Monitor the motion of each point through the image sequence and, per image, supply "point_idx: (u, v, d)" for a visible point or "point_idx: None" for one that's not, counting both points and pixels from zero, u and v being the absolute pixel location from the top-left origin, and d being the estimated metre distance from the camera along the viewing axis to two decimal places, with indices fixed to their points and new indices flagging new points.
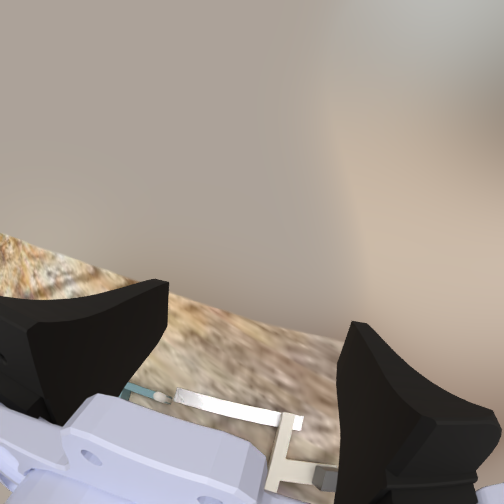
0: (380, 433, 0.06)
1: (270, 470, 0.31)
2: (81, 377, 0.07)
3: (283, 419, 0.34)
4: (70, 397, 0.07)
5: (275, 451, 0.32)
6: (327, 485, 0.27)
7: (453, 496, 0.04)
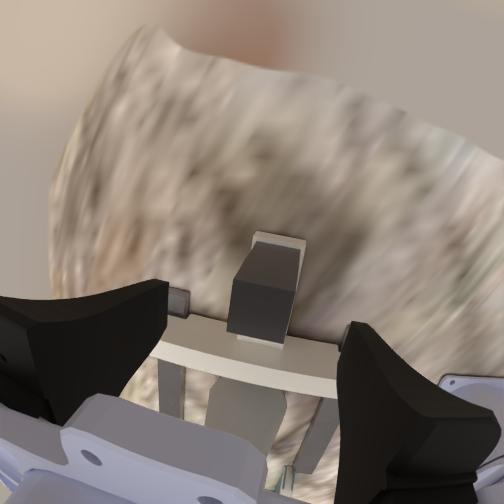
0: (380, 433, 0.06)
1: (251, 381, 0.19)
2: (81, 377, 0.07)
3: (150, 353, 0.19)
4: (70, 397, 0.07)
5: (211, 371, 0.19)
6: (268, 329, 0.13)
7: (453, 496, 0.04)
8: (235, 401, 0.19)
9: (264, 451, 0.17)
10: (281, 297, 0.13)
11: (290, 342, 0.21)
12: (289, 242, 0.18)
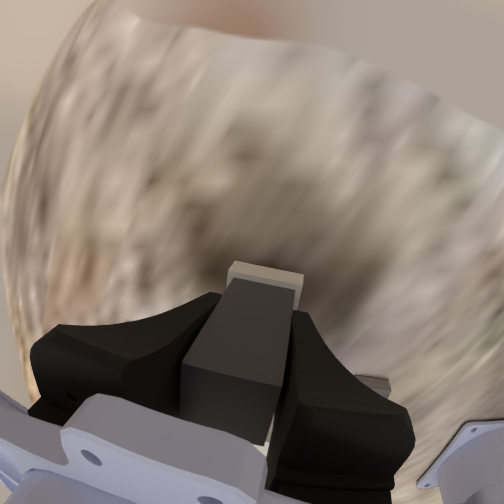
0: (283, 421, 0.06)
1: None
2: (158, 408, 0.07)
3: None
4: None
5: None
6: (241, 429, 0.08)
7: (360, 501, 0.04)
8: None
9: None
10: (258, 392, 0.07)
11: None
12: (279, 280, 0.13)
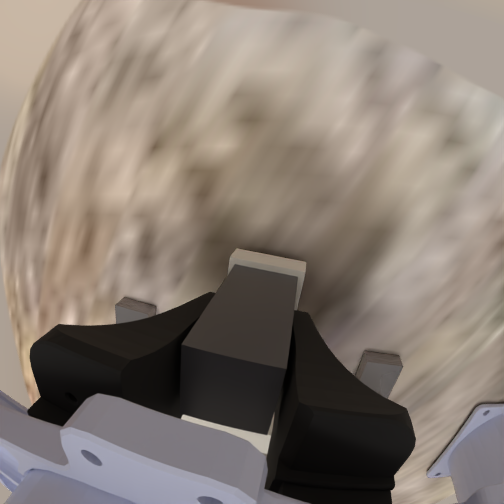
0: (284, 421, 0.06)
1: None
2: (158, 407, 0.07)
3: None
4: None
5: None
6: (243, 416, 0.08)
7: (360, 501, 0.04)
8: None
9: None
10: (261, 375, 0.07)
11: None
12: (281, 267, 0.12)
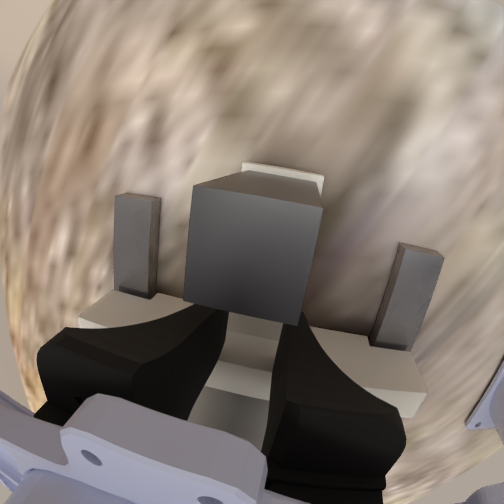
0: (274, 419, 0.06)
1: (242, 392, 0.12)
2: (166, 410, 0.07)
3: None
4: None
5: None
6: (267, 294, 0.07)
7: (350, 501, 0.04)
8: (220, 404, 0.12)
9: None
10: (292, 220, 0.06)
11: None
12: (298, 171, 0.11)
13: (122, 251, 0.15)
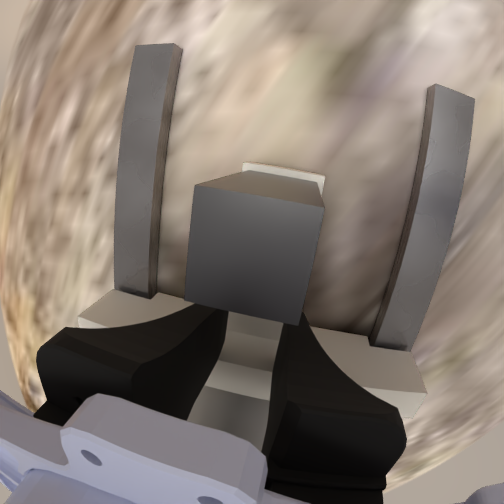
0: (275, 419, 0.06)
1: (242, 392, 0.12)
2: (166, 410, 0.07)
3: None
4: None
5: None
6: (268, 294, 0.07)
7: (351, 501, 0.04)
8: (220, 404, 0.12)
9: None
10: (293, 220, 0.06)
11: None
12: (299, 171, 0.11)
13: (135, 98, 0.13)
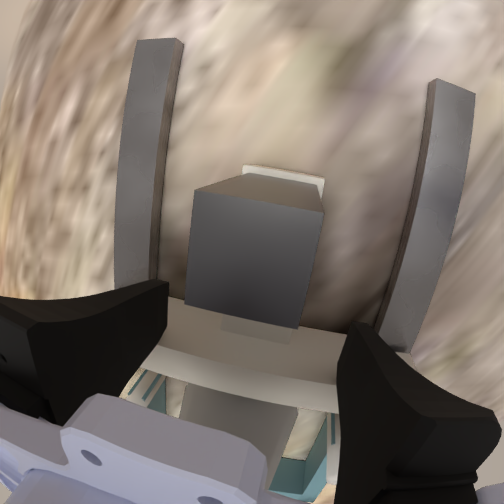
0: (380, 433, 0.06)
1: (242, 393, 0.12)
2: (81, 377, 0.07)
3: None
4: (70, 397, 0.07)
5: (181, 377, 0.12)
6: (267, 298, 0.07)
7: (453, 496, 0.04)
8: (220, 406, 0.12)
9: (265, 484, 0.10)
10: (292, 225, 0.06)
11: (299, 334, 0.14)
12: (298, 174, 0.11)
13: (137, 92, 0.12)
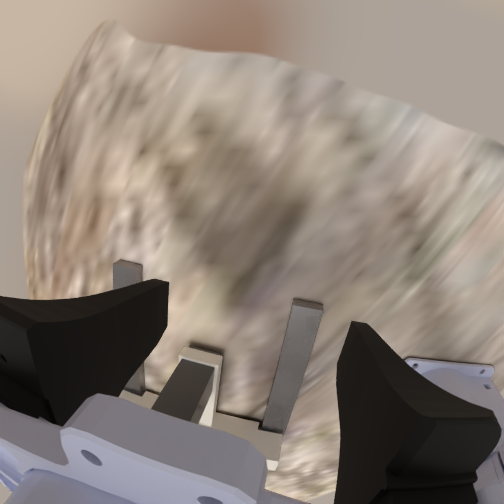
0: (380, 433, 0.06)
1: None
2: (81, 377, 0.07)
3: None
4: (70, 397, 0.07)
5: None
6: None
7: (453, 496, 0.04)
8: None
9: None
10: None
11: (219, 419, 0.25)
12: (205, 362, 0.22)
13: None
